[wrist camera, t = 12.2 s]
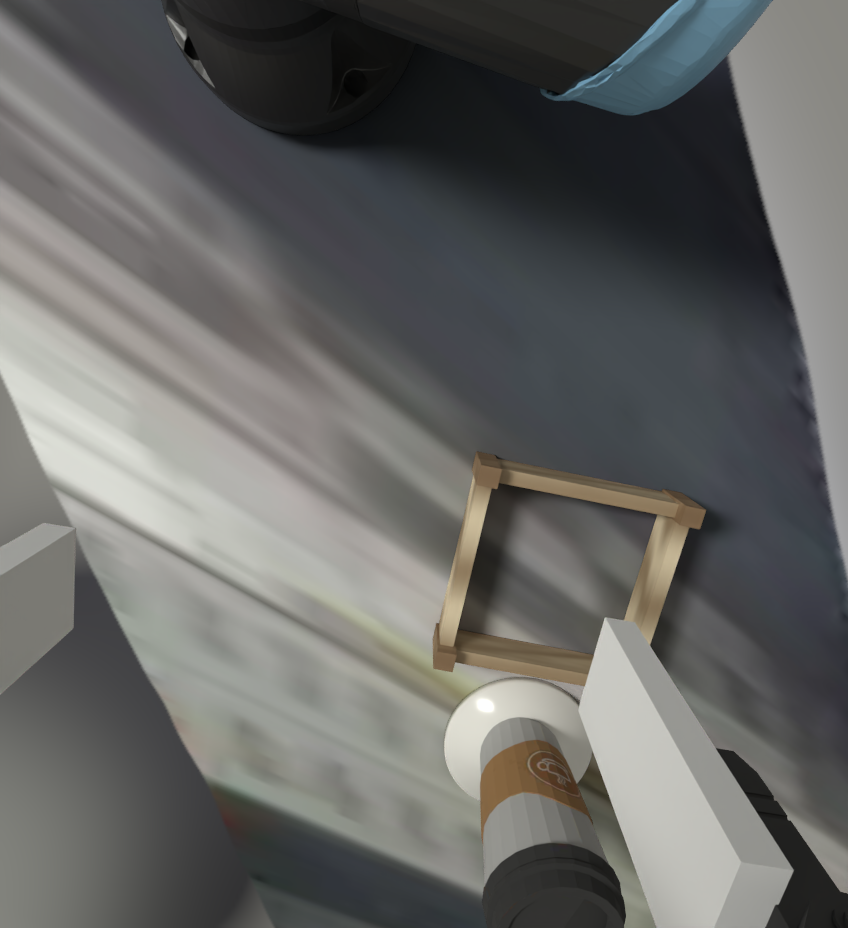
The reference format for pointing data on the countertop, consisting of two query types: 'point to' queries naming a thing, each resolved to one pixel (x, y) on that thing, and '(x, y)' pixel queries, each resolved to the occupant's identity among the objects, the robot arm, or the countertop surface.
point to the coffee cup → (540, 837)
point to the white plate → (512, 702)
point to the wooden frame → (490, 471)
